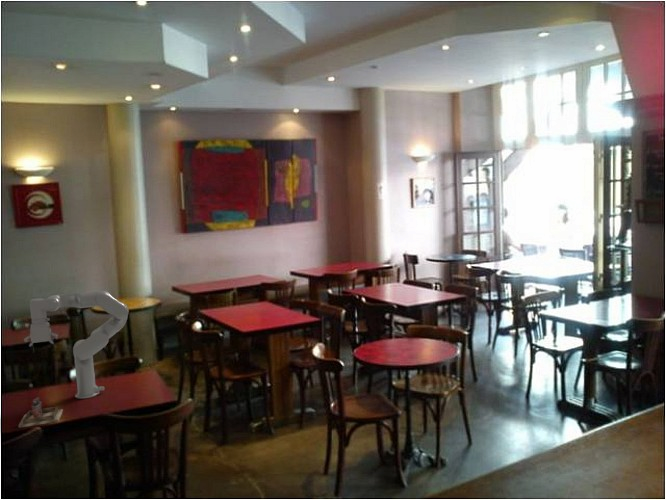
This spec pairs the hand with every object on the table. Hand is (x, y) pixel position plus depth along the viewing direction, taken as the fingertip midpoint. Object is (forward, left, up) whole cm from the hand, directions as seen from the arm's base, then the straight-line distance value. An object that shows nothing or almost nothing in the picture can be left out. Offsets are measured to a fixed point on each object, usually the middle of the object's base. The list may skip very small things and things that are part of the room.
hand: (42, 351), depth 333 cm
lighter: (0, +30, -27) cm, 41 cm away
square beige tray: (-1, +29, -28) cm, 41 cm away
